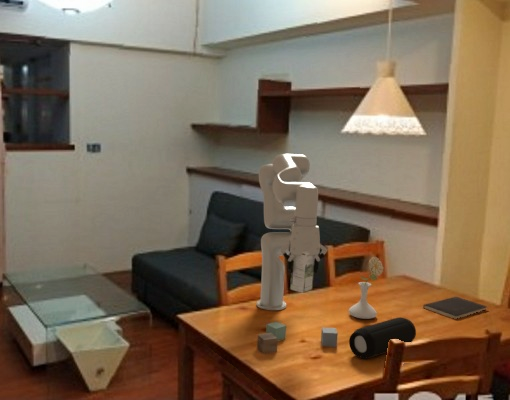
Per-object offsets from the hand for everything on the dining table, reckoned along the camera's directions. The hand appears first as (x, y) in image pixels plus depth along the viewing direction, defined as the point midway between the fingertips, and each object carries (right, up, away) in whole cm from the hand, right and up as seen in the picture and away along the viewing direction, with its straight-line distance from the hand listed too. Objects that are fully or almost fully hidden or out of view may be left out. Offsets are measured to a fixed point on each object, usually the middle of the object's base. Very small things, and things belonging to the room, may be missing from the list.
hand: (302, 271), depth 183 cm
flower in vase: (+28, -23, +34) cm, 50 cm away
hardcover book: (+71, -24, +48) cm, 89 cm away
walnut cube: (-12, -26, -2) cm, 29 cm away
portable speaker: (+28, -28, +1) cm, 39 cm away
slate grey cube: (+10, -26, +5) cm, 29 cm away
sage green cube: (-9, -25, +8) cm, 28 cm away
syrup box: (0, -7, +1) cm, 7 cm away
